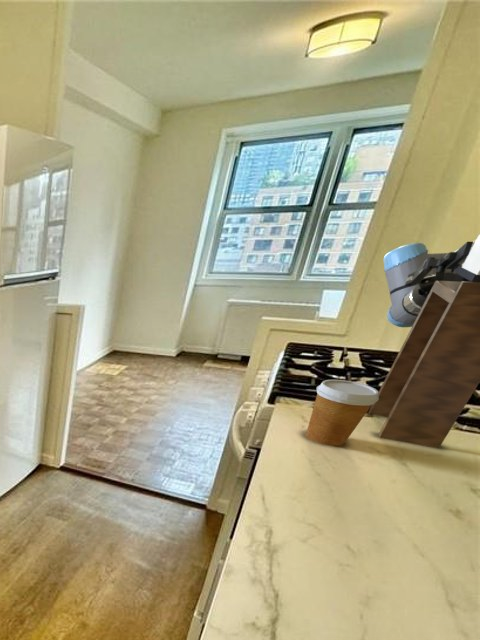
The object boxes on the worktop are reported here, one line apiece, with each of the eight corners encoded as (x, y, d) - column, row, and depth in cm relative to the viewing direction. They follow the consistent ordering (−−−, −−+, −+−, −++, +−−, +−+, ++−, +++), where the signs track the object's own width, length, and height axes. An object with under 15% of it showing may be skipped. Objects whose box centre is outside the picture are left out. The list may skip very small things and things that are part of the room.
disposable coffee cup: (361, 443, 101) (390, 389, 95) (341, 455, 97) (369, 399, 91) (308, 426, 108) (331, 375, 103) (287, 436, 104) (310, 384, 98)
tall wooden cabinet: (420, 421, 110) (506, 273, 94) (438, 449, 98) (538, 286, 83) (367, 412, 114) (440, 270, 99) (378, 438, 103) (463, 282, 87)
